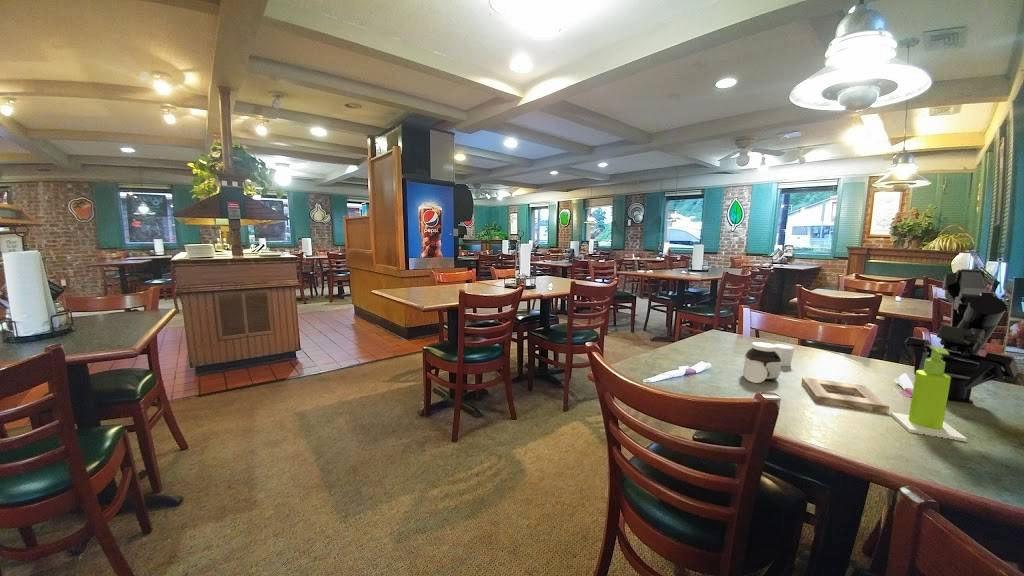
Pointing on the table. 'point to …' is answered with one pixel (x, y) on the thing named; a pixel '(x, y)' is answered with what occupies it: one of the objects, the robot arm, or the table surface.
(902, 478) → the table surface
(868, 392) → the plate
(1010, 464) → the table surface
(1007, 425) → the table surface
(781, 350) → the white cup
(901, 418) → the pad
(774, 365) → the spread jar
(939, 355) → the soap dispenser
